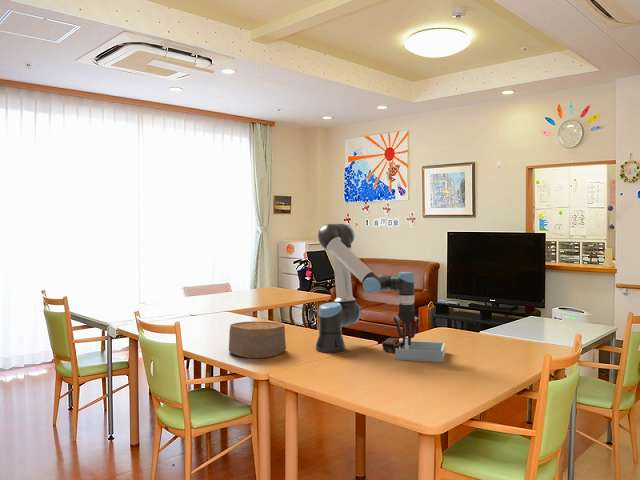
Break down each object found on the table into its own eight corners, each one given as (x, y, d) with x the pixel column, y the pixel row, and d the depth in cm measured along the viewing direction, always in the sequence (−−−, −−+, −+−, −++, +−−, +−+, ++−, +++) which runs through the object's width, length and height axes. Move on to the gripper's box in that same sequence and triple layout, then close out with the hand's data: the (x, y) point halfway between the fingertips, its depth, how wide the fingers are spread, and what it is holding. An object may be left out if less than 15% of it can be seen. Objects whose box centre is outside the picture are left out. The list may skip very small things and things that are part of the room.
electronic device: (397, 346, 268) (405, 338, 273) (381, 343, 274) (388, 335, 280) (399, 353, 270) (406, 345, 275) (382, 350, 276) (390, 342, 281)
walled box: (395, 359, 257) (395, 348, 257) (400, 350, 277) (400, 340, 277) (442, 362, 251) (442, 351, 251) (445, 352, 271) (445, 342, 271)
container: (294, 350, 279) (293, 321, 279) (266, 362, 254) (266, 330, 254) (248, 345, 291) (247, 317, 290) (217, 356, 266) (217, 326, 265)
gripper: (392, 304, 263) (392, 352, 264) (419, 305, 260) (419, 354, 260) (394, 302, 271) (394, 349, 271) (420, 302, 267) (421, 350, 268)
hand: (406, 351), depth 266 cm, fingers closed
